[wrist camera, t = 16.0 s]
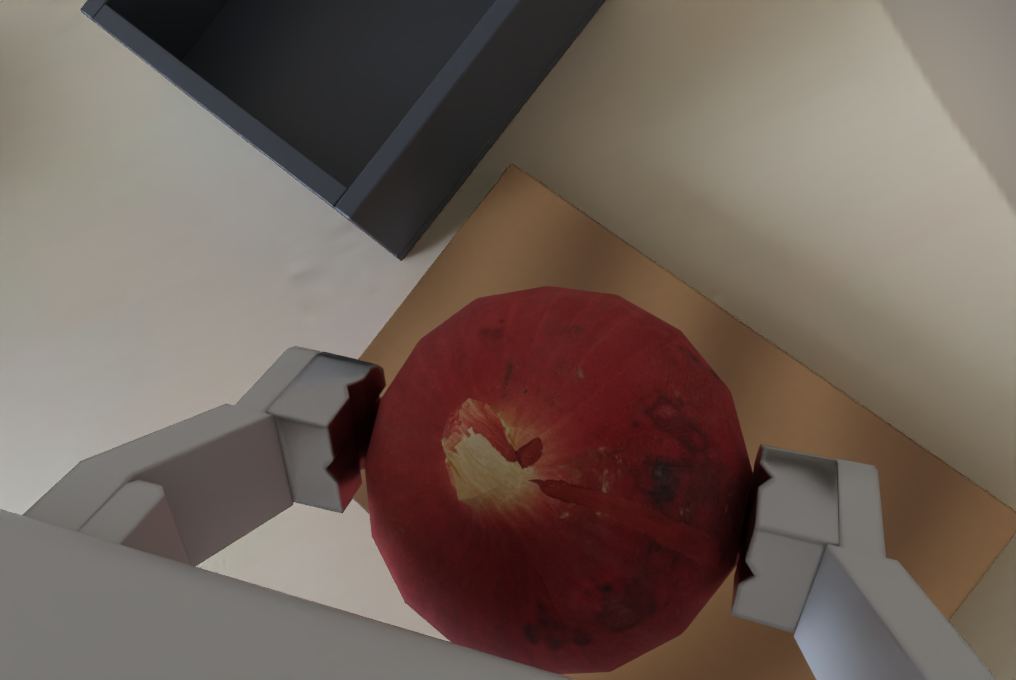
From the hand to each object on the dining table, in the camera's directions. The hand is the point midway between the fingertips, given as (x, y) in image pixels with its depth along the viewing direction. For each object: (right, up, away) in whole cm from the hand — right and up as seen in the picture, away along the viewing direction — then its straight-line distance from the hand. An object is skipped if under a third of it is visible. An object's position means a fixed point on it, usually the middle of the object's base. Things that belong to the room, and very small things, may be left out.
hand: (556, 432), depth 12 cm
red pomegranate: (+1, -1, +4) cm, 4 cm away
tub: (-6, +14, +21) cm, 26 cm away
